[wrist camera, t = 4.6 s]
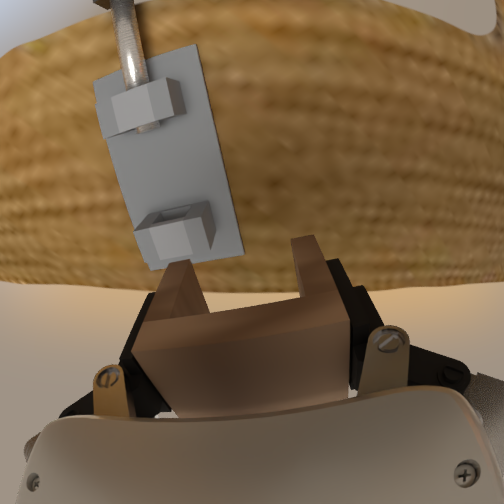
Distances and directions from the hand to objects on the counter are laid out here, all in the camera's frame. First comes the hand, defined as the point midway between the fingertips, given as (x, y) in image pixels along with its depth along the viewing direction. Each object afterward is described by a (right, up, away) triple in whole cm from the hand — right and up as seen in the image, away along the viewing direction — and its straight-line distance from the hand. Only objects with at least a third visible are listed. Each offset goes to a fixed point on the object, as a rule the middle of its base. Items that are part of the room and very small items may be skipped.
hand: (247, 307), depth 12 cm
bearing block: (-7, +10, +13) cm, 18 cm away
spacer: (0, +1, +1) cm, 2 cm away
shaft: (-10, +19, +7) cm, 23 cm away
